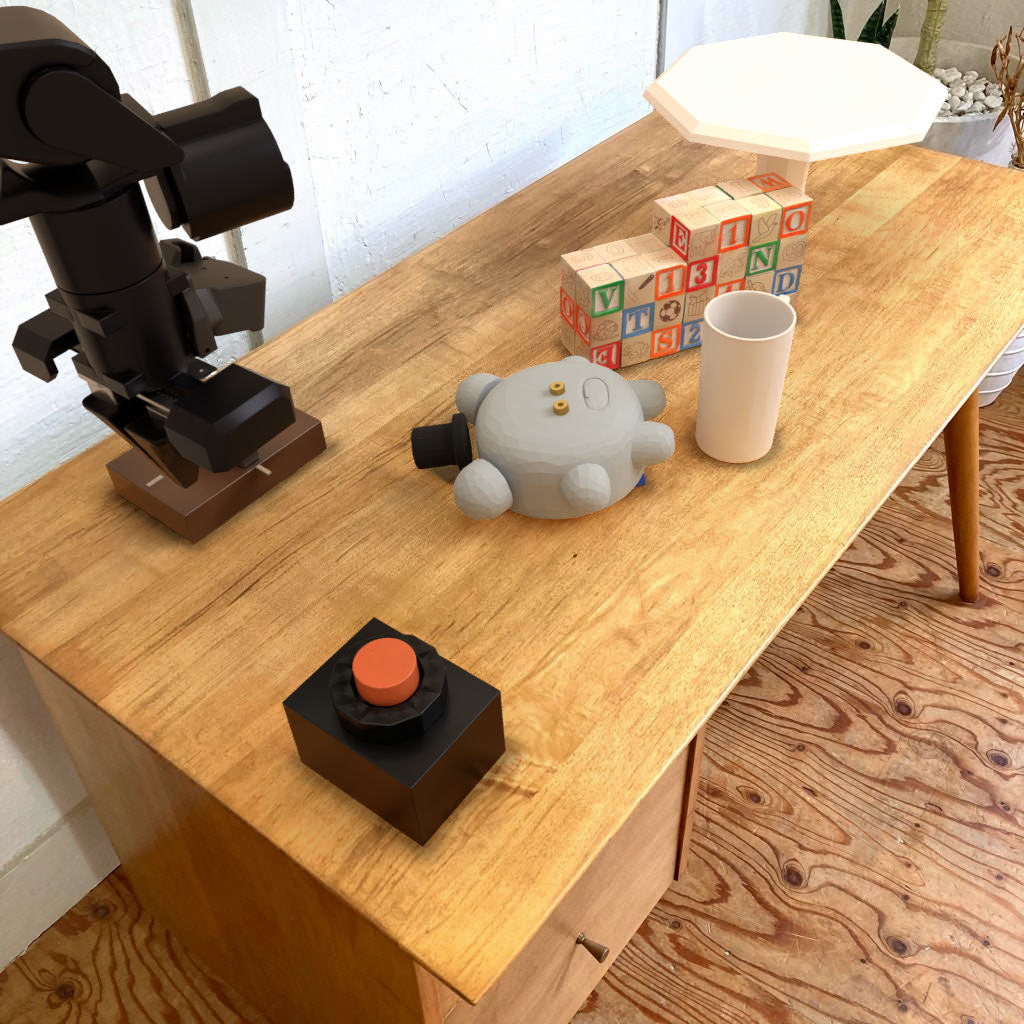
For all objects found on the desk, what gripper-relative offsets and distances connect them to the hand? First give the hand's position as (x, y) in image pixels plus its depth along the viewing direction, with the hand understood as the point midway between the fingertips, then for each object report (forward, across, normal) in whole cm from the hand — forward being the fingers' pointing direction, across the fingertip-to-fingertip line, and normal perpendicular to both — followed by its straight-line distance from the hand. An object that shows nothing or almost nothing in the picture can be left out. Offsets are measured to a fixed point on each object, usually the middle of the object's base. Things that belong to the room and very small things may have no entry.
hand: (188, 483), depth 67 cm
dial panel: (+12, +12, -10) cm, 19 cm away
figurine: (+12, -10, -24) cm, 29 cm away
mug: (+13, -21, -38) cm, 45 cm away
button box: (+12, -18, +2) cm, 22 cm away
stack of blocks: (+13, -9, -47) cm, 50 cm away
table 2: (+13, -9, -67) cm, 69 cm away
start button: (+4, -18, +2) cm, 19 cm away
